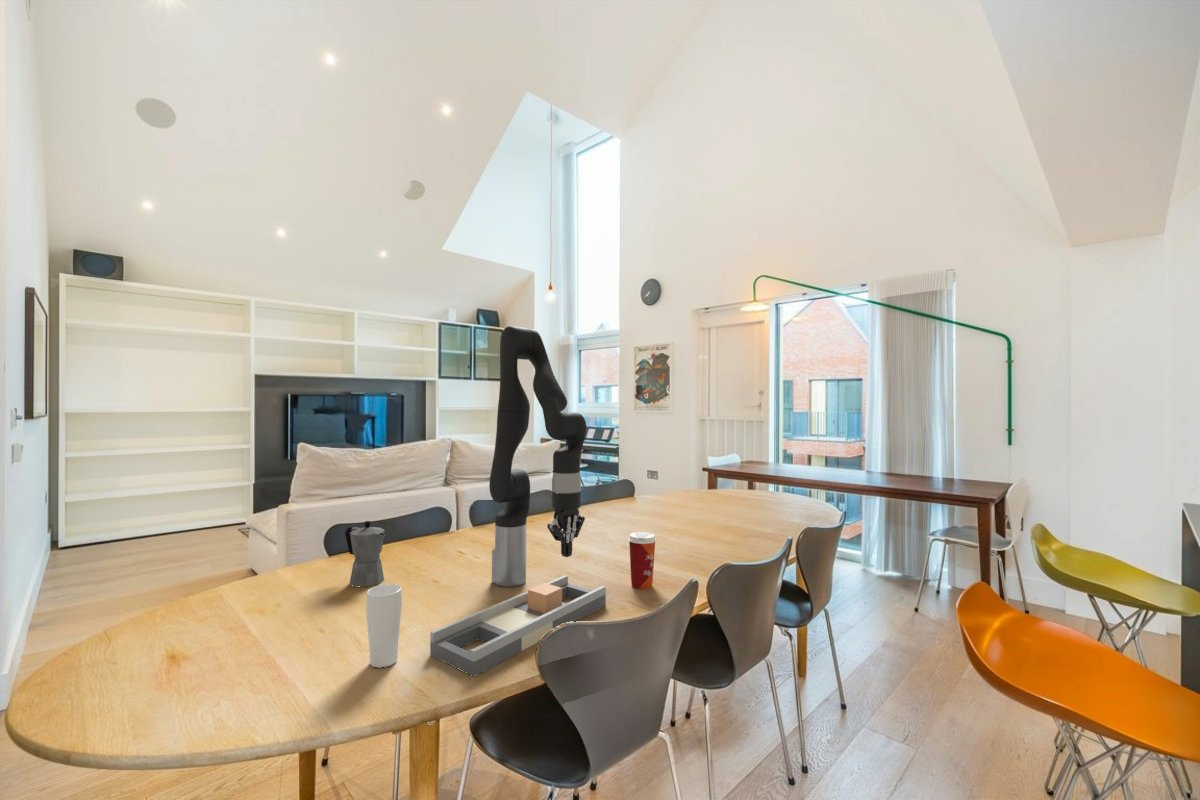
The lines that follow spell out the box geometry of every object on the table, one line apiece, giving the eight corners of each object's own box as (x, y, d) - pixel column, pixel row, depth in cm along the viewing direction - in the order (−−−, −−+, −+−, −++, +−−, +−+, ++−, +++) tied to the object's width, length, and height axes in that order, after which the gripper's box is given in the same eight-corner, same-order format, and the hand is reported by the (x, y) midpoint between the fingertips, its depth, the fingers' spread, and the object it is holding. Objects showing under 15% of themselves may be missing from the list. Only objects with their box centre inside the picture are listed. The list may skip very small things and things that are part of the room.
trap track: (565, 593, 144) (565, 575, 144) (605, 605, 136) (605, 586, 136) (430, 655, 109) (430, 631, 109) (473, 677, 100) (474, 651, 100)
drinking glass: (391, 651, 110) (391, 581, 110) (407, 661, 106) (408, 589, 106) (359, 663, 105) (360, 590, 105) (376, 674, 101) (376, 598, 101)
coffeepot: (396, 580, 153) (396, 520, 153) (370, 591, 144) (371, 527, 144) (358, 572, 159) (358, 514, 159) (331, 582, 150) (332, 521, 150)
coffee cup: (654, 592, 145) (655, 539, 145) (625, 590, 147) (626, 537, 147) (657, 582, 153) (657, 532, 153) (629, 580, 155) (630, 530, 155)
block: (544, 600, 131) (544, 582, 131) (562, 606, 128) (562, 587, 128) (527, 607, 126) (527, 589, 126) (545, 614, 123) (545, 595, 123)
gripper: (571, 484, 141) (571, 547, 141) (538, 491, 130) (538, 559, 130) (593, 487, 137) (593, 552, 137) (560, 494, 126) (561, 565, 126)
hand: (566, 556), depth 133 cm, fingers closed
